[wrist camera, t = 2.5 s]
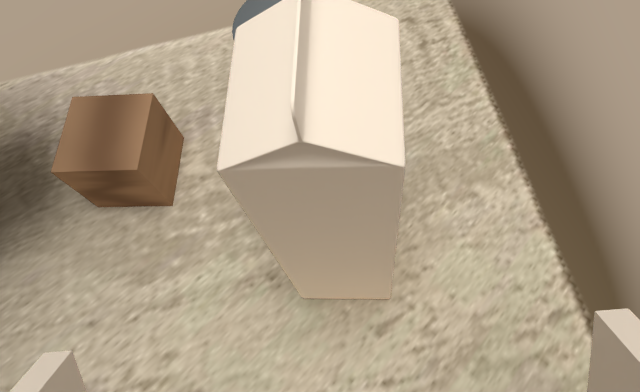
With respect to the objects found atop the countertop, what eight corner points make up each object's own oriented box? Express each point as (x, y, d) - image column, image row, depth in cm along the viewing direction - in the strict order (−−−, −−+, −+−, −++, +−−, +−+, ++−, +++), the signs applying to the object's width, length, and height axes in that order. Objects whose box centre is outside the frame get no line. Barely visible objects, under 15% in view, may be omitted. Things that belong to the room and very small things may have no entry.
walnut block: (98, 207, 37) (50, 172, 31) (114, 140, 39) (72, 97, 34) (173, 205, 36) (137, 169, 31) (184, 138, 39) (152, 93, 33)
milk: (388, 216, 34) (409, -67, 14) (390, 301, 31) (420, 105, 11) (303, 216, 35) (207, -53, 15) (299, 300, 32) (176, 113, 12)
